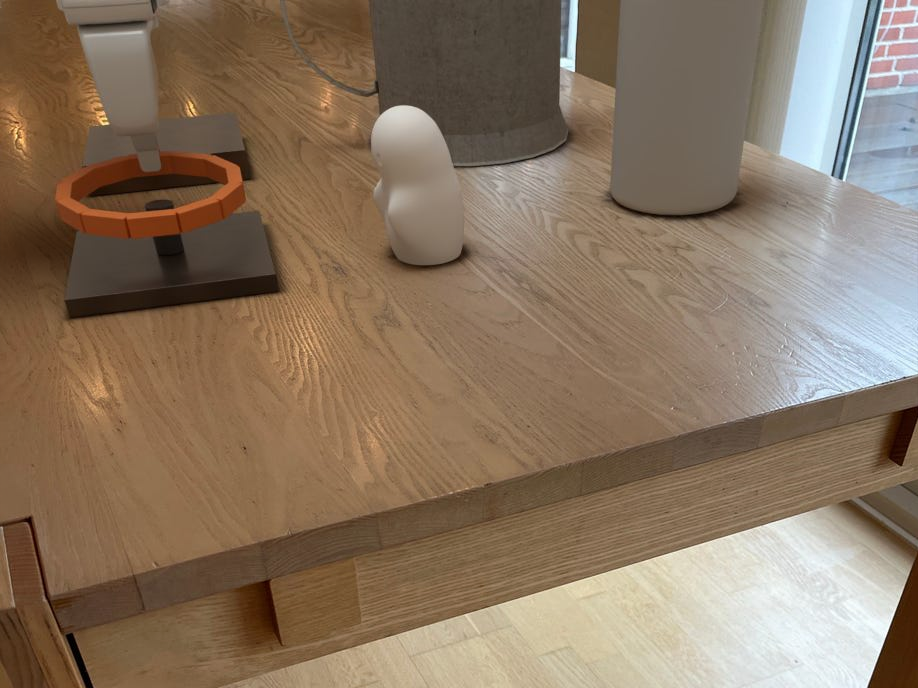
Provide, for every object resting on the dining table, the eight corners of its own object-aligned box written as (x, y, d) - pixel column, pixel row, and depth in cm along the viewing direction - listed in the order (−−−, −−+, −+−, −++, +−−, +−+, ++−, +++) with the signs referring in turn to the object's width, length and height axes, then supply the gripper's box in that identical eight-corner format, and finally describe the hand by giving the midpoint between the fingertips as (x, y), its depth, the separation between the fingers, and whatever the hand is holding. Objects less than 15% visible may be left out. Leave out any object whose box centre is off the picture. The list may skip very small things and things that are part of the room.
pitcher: (589, 155, 107) (601, -130, 90) (306, 182, 103) (263, -110, 86) (543, 104, 124) (545, -145, 107) (298, 125, 120) (261, -129, 103)
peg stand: (69, 317, 77) (47, 249, 74) (81, 247, 90) (62, 185, 86) (278, 291, 80) (266, 224, 77) (262, 226, 93) (251, 165, 89)
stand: (90, 196, 101) (81, 166, 99) (97, 153, 114) (89, 126, 112) (250, 179, 104) (245, 149, 102) (240, 139, 117) (235, 112, 115)
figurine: (373, 246, 88) (358, 100, 80) (452, 235, 89) (445, 90, 81) (392, 273, 82) (378, 120, 74) (475, 261, 84) (470, 109, 76)
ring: (57, 247, 75) (50, 226, 74) (66, 179, 85) (61, 160, 84) (251, 226, 77) (248, 206, 76) (238, 163, 88) (234, 144, 87)
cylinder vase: (706, 173, 101) (742, -129, 84) (756, 210, 92) (808, -121, 75) (593, 185, 99) (607, -122, 82) (633, 223, 90) (658, -112, 73)
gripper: (76, -34, 83) (119, 139, 93) (58, 2, 69) (112, 203, 78) (149, -38, 84) (185, 133, 94) (148, -4, 70) (190, 195, 79)
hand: (152, 165), depth 86 cm, fingers closed on ring, 1 cm apart
